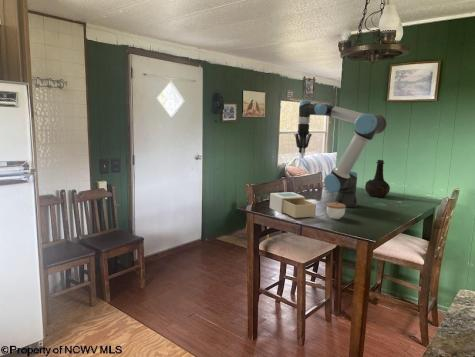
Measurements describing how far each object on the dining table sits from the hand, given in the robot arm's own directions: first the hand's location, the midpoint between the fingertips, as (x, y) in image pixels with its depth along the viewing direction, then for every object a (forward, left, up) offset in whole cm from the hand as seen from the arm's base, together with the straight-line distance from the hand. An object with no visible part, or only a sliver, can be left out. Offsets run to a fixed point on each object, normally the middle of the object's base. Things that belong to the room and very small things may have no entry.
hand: (301, 157), depth 253 cm
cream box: (+12, +34, -29) cm, 46 cm away
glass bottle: (-63, -24, -30) cm, 74 cm away
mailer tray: (+9, +41, -28) cm, 51 cm away
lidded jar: (-15, +47, -30) cm, 58 cm away
